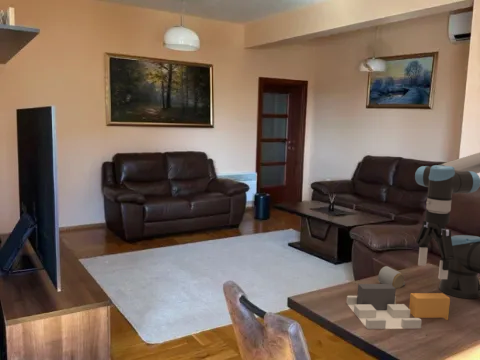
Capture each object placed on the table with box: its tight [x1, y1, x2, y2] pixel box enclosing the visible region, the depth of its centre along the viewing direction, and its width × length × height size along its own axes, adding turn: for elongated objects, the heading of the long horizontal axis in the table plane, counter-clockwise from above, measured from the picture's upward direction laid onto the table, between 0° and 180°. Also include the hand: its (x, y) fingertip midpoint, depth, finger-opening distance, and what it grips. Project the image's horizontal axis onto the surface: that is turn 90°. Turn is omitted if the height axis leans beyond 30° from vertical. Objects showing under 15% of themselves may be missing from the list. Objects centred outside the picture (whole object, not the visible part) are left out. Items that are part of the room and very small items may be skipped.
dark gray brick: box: [356, 283, 397, 310], centre depth 156 cm, size 12×4×8 cm, turn 96°
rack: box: [346, 295, 423, 330], centre depth 151 cm, size 18×20×4 cm
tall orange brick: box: [408, 292, 451, 321], centre depth 152 cm, size 12×4×8 cm, turn 95°
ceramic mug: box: [377, 265, 406, 289], centre depth 181 cm, size 11×8×8 cm
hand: (431, 271), depth 151 cm, fingers open, 13 cm apart
